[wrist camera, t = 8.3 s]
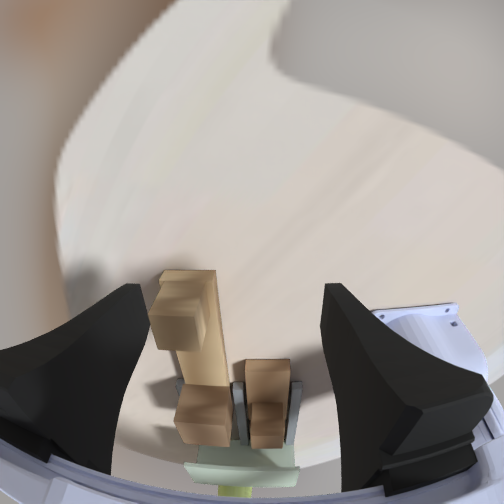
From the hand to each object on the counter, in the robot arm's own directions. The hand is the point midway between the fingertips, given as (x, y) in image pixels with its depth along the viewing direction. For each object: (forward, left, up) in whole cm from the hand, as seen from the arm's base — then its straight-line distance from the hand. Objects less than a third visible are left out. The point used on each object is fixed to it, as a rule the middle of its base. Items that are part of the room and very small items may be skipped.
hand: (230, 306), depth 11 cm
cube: (+4, +18, -8) cm, 20 cm away
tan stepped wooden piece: (+4, +12, -10) cm, 16 cm away
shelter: (+1, +28, -10) cm, 30 cm away
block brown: (-1, +18, -10) cm, 20 cm away
